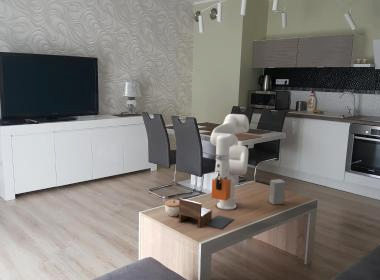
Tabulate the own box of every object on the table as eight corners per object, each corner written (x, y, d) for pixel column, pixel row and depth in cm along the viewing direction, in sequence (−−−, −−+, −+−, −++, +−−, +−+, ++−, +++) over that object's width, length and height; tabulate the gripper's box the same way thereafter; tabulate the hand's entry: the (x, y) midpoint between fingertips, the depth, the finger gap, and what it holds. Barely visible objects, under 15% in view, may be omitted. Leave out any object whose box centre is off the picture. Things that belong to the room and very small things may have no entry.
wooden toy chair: (191, 214, 222) (191, 192, 220) (211, 219, 215) (212, 197, 212) (178, 221, 210) (179, 198, 208) (199, 227, 203) (200, 203, 201)
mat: (218, 216, 220) (218, 215, 220) (233, 219, 215) (233, 219, 215) (205, 225, 207) (205, 224, 207) (221, 229, 202) (221, 228, 202)
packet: (216, 194, 213) (216, 176, 211) (230, 197, 208) (231, 179, 206) (211, 197, 208) (212, 179, 206) (225, 200, 203) (226, 181, 201)
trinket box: (178, 210, 228) (179, 196, 226) (184, 216, 218) (185, 201, 217) (162, 212, 224) (162, 197, 223) (167, 218, 214) (168, 203, 213)
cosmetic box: (278, 200, 251) (280, 178, 248) (284, 204, 244) (286, 181, 241) (268, 201, 248) (269, 179, 245) (273, 205, 241) (275, 182, 238)
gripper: (221, 161, 195) (220, 193, 198) (234, 155, 209) (233, 185, 213) (209, 159, 199) (208, 190, 202) (223, 154, 213) (221, 183, 216)
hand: (221, 187), depth 207 cm, fingers closed on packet, 6 cm apart
